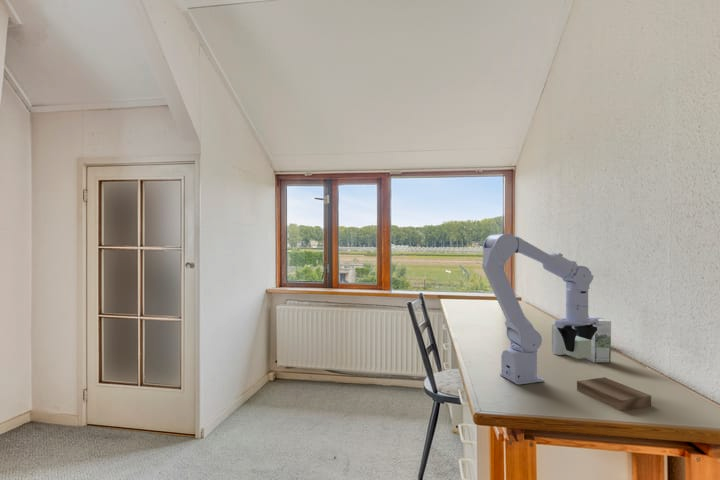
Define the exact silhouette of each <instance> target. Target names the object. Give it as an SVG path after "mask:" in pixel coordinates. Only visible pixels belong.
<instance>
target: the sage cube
mask: <svg viewBox="0 0 720 480" xmlns="http://www.w3.org/2000/svg"><path fill="white" fill-rule="evenodd" d="M563 353H564V355H567V356H570V357H573V358H575V359H586V358H587V357H591V340H589V339H586V338H582V337H579V336H576V338H575V346H574V352H570V351H568V350H566V348H565V344H564V341H563Z"/></svg>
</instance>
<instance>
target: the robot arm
mask: <svg viewBox="0 0 720 480" xmlns="http://www.w3.org/2000/svg"><path fill="white" fill-rule="evenodd" d="M481 248H482V250H483V252H482V254H483V255H482V266H481V267H482V269H483V272H484V273H485V276H486V278H487V280H488V283H489V284H490V287H491V290H492V291H493V294H494V296H495V298H496V301H497V303H498V305H499V306H500V309H501V311H502V314H503V316H504V317H505V321H504V325H505V328H506V337H507V338H508V340H509V341H510V343H509V344H510V345H509V348H508V349H504V350H502V353H501V358H500V359H501V360H500V361H501V363H500V364H501V372H500V373H499V375H500V376H501V377H503V378H505V379H507V380H509V381H510V382H512V383H514V384H515V385H519V386H520V385H527V384H534V383H539V382H540V383H541V382H542V383H543V382H544V381H545V379H544V378H542V377H540V376H538V349H540V348H541V345H542V343H543V339H542V336H541V333H540V332H539V331H538V330H536V329H535V327H534V326H533V324H532V322H531V321H530V320H529V319H528V318H527V317H526V316H525V314H524V312H523V309H522V307H521V305H520V303H519V301H518V299H517V296H516V294H515V291H514V289H513V288H512V285H511V284H510V280H509V279H508V277H507V276H508V275H507V274H506V272H505V271H504V270H505V269H504V266H505V265H506V263H507V261H508V260H509V259H510V258H511V257H512V256H513V255H514V254H521V255H523V256H525V257H528V258H530V259H532V260H534V261H536V262H538V263H541V264H542V268H543V269H544V270H546V271H548V273H549V272H550V273H551V274H553V275H555V276H557V277H559V278H561V280H563V281H564V283H565V317H564V318H560V319H555V320H554V322H555V327H557V329H558V330H559V332H560V334H561V336H562V338H563V341H564V344H565V348H566V350H568V351H570V352H574V346H575V338H576V335H577V332H578V333H579V337H582V338H586V339H589V340H592V337H593V336H594V334H595V332H596V331H597V327H594V326H593V325H598V319H597V318H588V316H589V290H590V285H591V283H592V282H593V280H594V274H592V271H591V270H590V268H589V267H587V266H585V265H578V264H577V261H575V260H570V259H568V258H566V257H564V256H563V254H562V253H561V252H550V253H547V252H545V251H544V250H542V249H540V248H539V247H537V246H534V245H533V244H531V243H529V242H528V241H526V240H524V239H523V238H522V237H519V236H515V235H514V234H512V233H509V232H508V233H506V232H505V233H502V234H501V233H500V234H499V233H498V234H497V233H496V234H495V233H494V234H490V235H488V236H487V237H486V238H485V239H484V243H482V247H481ZM573 326H576V327H577V330H575V329H573V328H572V327H573Z"/></svg>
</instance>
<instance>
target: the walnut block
mask: <svg viewBox="0 0 720 480" xmlns="http://www.w3.org/2000/svg"><path fill="white" fill-rule="evenodd" d="M576 391H578V392H579V393H581V394H584V395H585V396H588V397H590V398H592V399H594V400H596V401H599V402H601V403H603V404H605V405H607V406H610V407H611V408H613V409H615V410H618V411H619V412H620V411H621V412H623V411H624V412H625V411H629V410H634V409H640V408H645V407H651V406H652V395H651V394H648V393H645V392H643V391H640V390H639V389H635V388H633V387H630V386H628V385H626V384H622V383H620V382H618V381H615V380H613V379H610V378H607V377H605V376H604V377H596V378H590V379H583V380H576Z"/></svg>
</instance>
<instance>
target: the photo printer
mask: <svg viewBox="0 0 720 480" xmlns="http://www.w3.org/2000/svg"><path fill="white" fill-rule="evenodd" d="M572 328H573V329H574V326H573V327H572ZM551 353H553V354H554V355H557V356H565V354H564V353H563V338H562V336H561V334H560V332H559V330H558V329H557V327H555V321H554V322H553V323H552V326H551Z"/></svg>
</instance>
